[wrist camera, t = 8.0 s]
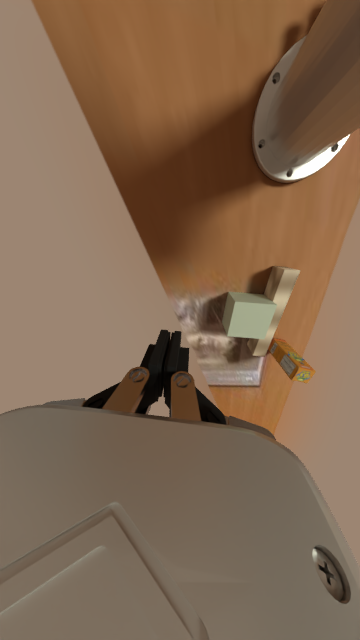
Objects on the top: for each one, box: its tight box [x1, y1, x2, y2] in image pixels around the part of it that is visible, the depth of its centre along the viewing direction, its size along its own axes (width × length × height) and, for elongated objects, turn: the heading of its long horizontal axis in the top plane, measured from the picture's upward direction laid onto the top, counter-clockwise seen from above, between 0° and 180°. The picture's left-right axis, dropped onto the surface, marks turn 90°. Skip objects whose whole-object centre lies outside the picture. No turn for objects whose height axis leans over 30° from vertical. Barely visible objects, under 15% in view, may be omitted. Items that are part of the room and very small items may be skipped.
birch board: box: [247, 266, 300, 357], centre depth 30 cm, size 18×2×4 cm, turn 176°
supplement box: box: [268, 338, 315, 383], centre depth 31 cm, size 3×3×10 cm
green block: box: [222, 292, 277, 339], centre depth 30 cm, size 7×7×6 cm
